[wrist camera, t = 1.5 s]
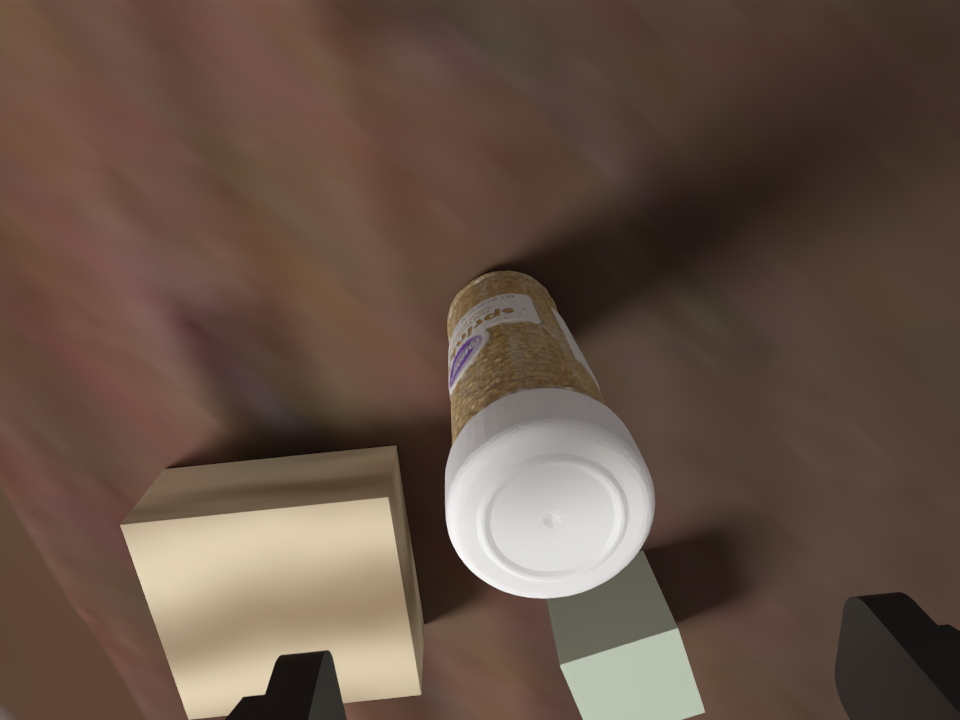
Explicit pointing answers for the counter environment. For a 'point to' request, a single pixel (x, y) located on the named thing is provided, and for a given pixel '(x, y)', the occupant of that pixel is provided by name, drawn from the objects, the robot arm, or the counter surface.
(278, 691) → the robot arm
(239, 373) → the counter surface
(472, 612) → the counter surface
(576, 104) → the counter surface
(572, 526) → the sprinkles bottle
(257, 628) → the beech pedestal block
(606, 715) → the sage painted cube
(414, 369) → the counter surface
